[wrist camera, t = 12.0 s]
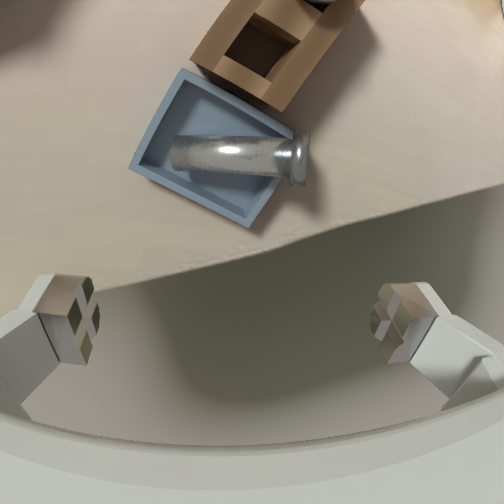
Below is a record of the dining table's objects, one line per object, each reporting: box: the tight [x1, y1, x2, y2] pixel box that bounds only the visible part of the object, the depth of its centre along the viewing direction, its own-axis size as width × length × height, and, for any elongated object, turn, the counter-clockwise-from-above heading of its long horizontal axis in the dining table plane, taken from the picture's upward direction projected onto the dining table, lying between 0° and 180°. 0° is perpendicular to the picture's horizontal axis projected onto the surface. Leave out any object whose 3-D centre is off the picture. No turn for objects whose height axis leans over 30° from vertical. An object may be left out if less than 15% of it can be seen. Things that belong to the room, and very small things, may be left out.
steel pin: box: [170, 131, 309, 187], centre depth 28 cm, size 5×5×12 cm
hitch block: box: [189, 0, 365, 112], centre depth 22 cm, size 9×16×6 cm, turn 148°
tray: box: [128, 68, 294, 228], centre depth 30 cm, size 14×11×3 cm
